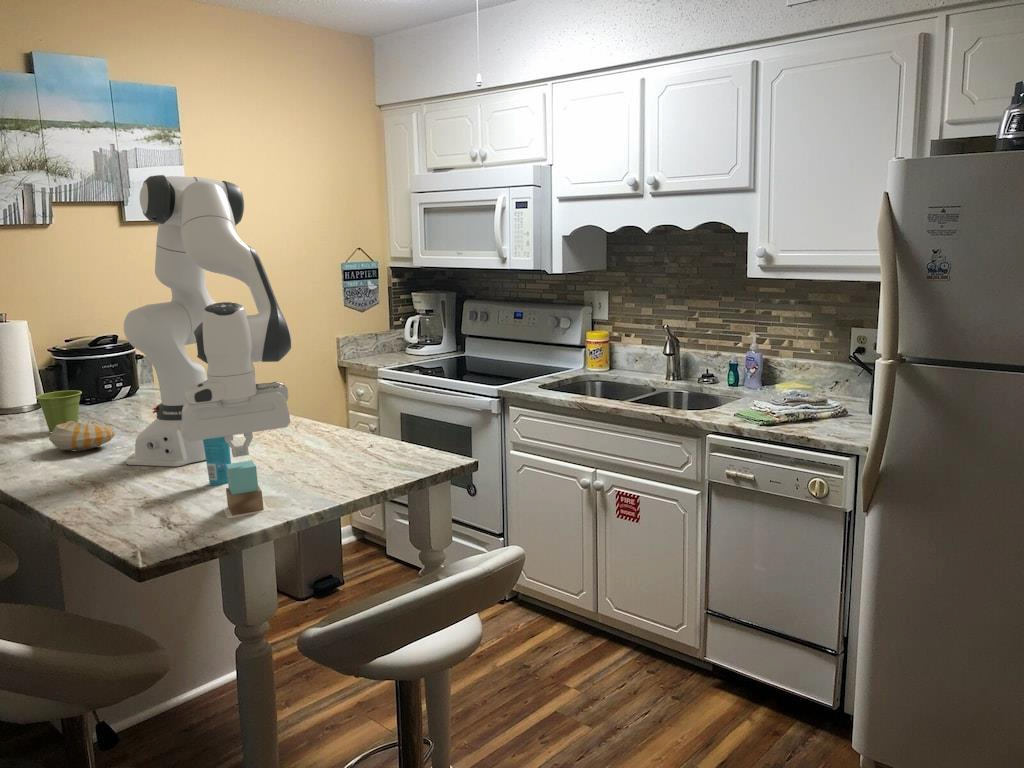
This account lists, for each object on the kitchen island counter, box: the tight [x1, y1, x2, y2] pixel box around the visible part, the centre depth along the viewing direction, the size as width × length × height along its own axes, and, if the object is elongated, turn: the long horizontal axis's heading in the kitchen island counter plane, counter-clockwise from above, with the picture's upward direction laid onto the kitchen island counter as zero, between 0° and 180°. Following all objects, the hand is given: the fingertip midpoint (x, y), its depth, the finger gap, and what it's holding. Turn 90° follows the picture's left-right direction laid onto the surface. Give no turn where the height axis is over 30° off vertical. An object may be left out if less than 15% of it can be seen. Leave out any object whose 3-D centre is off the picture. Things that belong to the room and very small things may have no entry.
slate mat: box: [221, 500, 271, 519], centre depth 167 cm, size 14×12×1 cm
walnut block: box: [225, 485, 264, 516], centre depth 167 cm, size 6×6×4 cm
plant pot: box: [35, 389, 83, 433], centre depth 242 cm, size 12×12×11 cm
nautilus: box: [48, 421, 115, 452], centre depth 223 cm, size 8×22×15 cm
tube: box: [203, 437, 232, 487], centre depth 185 cm, size 7×5×19 cm, turn 88°
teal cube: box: [226, 460, 259, 495], centre depth 166 cm, size 5×5×5 cm
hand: (240, 455), depth 165 cm, fingers closed
